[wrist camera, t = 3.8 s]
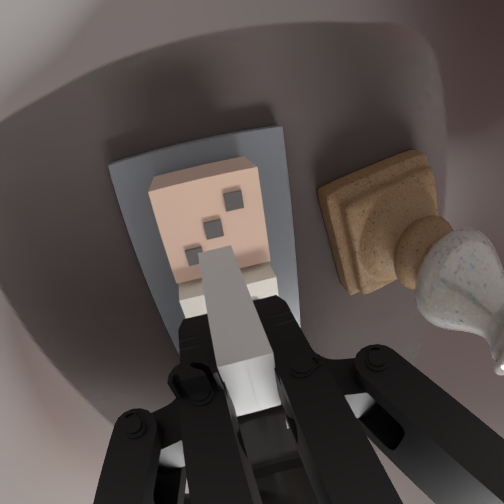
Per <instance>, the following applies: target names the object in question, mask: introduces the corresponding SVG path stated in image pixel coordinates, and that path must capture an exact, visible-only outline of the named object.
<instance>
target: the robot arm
mask: <svg viewBox="0 0 504 504" xmlns="http://www.w3.org/2000/svg"><path fill="white" fill-rule="evenodd" d="M198 258H199V265H200V271H201V278H202V284H203V291H204V297H205V303H206V309H207V314H203V315H199V316H195V317H191V318H186V319H183V321H182V323H181V325H180V327H179V329H178V335H179V350H180V351H179V353H180V364H179V365H177V366H176V367H175V368H173V370H172V371H171V373H170V374H169V377H168V382H167V383H168V385H169V386H170V388H171V390H172V391H173V393H174V395H175V396H176V399H175V400H174V401H173V402H172V403H170V404H169V405H167V406H165V407H163V408H161V409H159V410H157V411H155V412H153V413H150V412H149V411H148V410H144V409H140V408H139V409H131V410H129V411H127V412H124V413H123V414H122V415H121V416H120V417H119V418H118V420H117V421H116V423H115V425H114V429H113V432H112V435H111V439H110V442H109V446H108V449H107V453H106V456H105V460H104V463H103V467H102V471H101V475H100V478H99V482H98V487H97V490H96V494H95V499H94V503H93V504H403V503H402V501H401V499H400V497H399V495H398V493H397V491H396V490H395V488H394V486H393V484H392V482H391V480H390V479H389V477H388V475H387V473H386V471H385V469H384V467H383V465H382V464H381V462H380V460H379V458H378V456H377V454H376V453H375V451H374V449H373V447H372V445H371V443H370V442H369V440H368V438H369V439H370V440H371V441H372V442H373V443H374V444H375V445H376V446H377V447H378V448H379V449H380V450H381V451H382V452H383V453H384V454H385V455H386V456H387V457H388V458H389V459H390V460H391V461H392V462H393V463H394V464H395V465H396V466H397V467H398V468H399V469H400V470H401V471H402V472H403V473H404V474H405V475H406V476H407V477H408V478H409V479H410V480H411V481H412V482H413V483H414V484H415V485H416V486H418V488H420V489H421V490H422V491H423V492H424V493H425V494H426V495H427V496H428V497H429V498H430V499H431V500H432V501H433V502H434V503H435V504H504V439H503V438H502V437H501V436H499V435H498V434H497V433H496V432H495V431H493V430H492V429H491V428H490V427H489V426H487V425H486V424H485V423H484V422H482V421H481V420H480V419H479V418H478V417H476V416H475V415H474V414H473V413H471V412H470V411H469V410H468V409H467V408H465V407H464V406H463V405H462V404H460V403H459V402H458V401H457V400H455V399H454V398H453V397H452V396H450V395H449V394H448V393H447V392H445V391H444V390H443V389H442V388H441V387H439V386H438V385H437V384H436V383H434V382H433V381H432V380H431V379H429V378H428V377H427V376H426V375H424V374H423V373H422V372H420V371H419V370H418V369H417V368H416V367H414V366H413V365H412V364H411V363H409V362H408V361H407V360H405V359H404V358H403V357H402V356H400V355H399V354H398V353H397V352H395V351H394V350H393V349H391V348H389V347H387V346H384V345H379V344H376V345H369V346H367V347H364V348H362V349H361V350H360V351H359V352H358V353H357V355H356V357H355V358H351V359H340V360H333V359H327V358H324V357H321V356H320V355H318V354H317V353H315V352H314V351H313V349H312V348H311V346H310V345H309V343H308V341H307V339H306V337H305V335H304V334H303V332H302V330H301V328H300V326H299V324H298V323H297V321H296V320H295V317H294V315H293V313H292V312H291V310H290V308H289V306H288V304H287V302H286V301H285V300H283V299H282V298H280V297H279V296H277V295H274V296H270V297H266V298H262V299H259V300H255V301H252V298H251V296H250V293H249V291H248V288H247V285H246V283H245V280H244V278H243V275H242V273H241V270H240V267H239V265H238V262H237V260H236V257H235V255H234V252H233V249H232V247H231V245H229V246H225V247H221V248H217V249H213V250H209V251H205V252H201V253H198ZM367 437H368V438H367ZM186 478H187V481H188V488H189V494H185V485H186Z"/></svg>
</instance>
